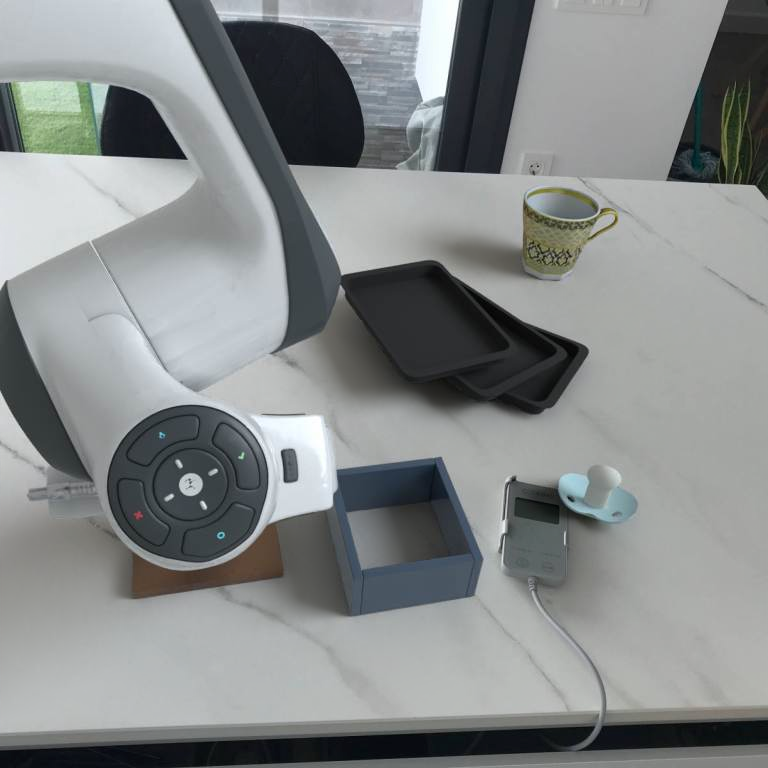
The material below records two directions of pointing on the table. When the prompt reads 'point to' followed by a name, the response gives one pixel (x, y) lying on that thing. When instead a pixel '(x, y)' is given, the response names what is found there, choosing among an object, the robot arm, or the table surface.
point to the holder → (413, 578)
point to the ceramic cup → (558, 229)
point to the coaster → (212, 570)
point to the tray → (461, 336)
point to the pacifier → (598, 495)
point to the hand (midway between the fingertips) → (198, 472)
